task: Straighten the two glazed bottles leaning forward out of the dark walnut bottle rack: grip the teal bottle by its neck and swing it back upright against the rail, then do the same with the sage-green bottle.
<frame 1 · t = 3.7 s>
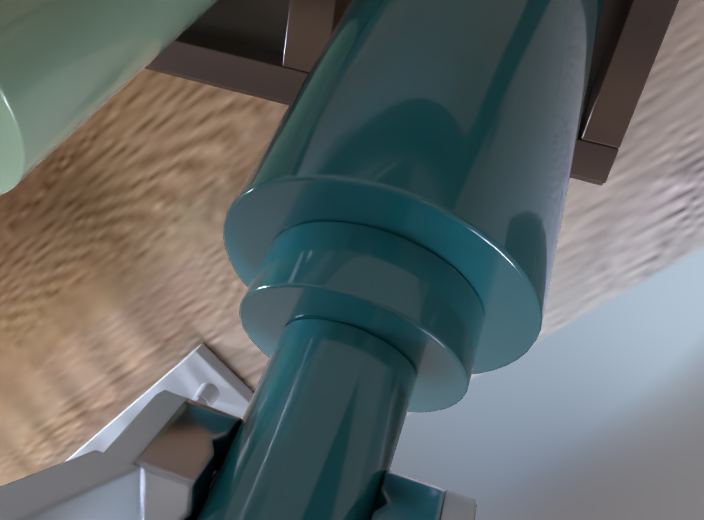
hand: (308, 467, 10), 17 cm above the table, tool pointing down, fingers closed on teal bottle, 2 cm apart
teal bottle: (414, 183, 13), point 11 cm above the table, hinge at 28.0°, touching gripper
test tube rack: (121, 457, 39), on the table
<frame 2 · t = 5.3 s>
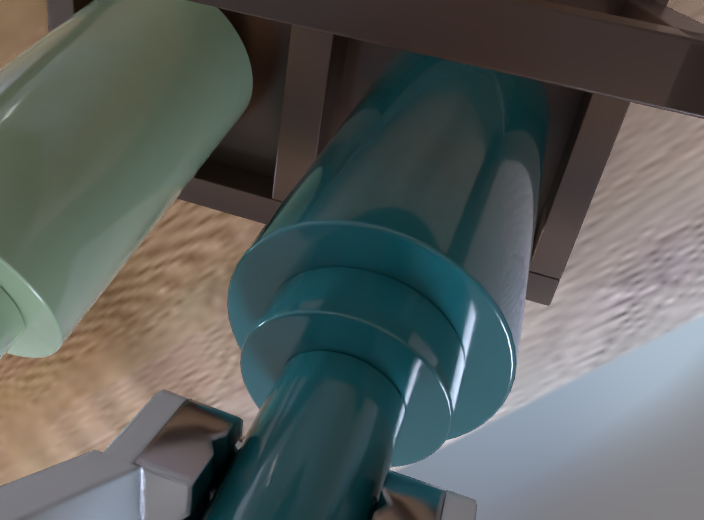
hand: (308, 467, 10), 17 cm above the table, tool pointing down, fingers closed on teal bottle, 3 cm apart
teal bottle: (397, 264, 15), point 11 cm above the table, hinge at 10.3°, touching gripper
sage bottle: (25, 208, 18), point 11 cm above the table, hinge at 20.0°
rack: (333, 72, 25), on the table
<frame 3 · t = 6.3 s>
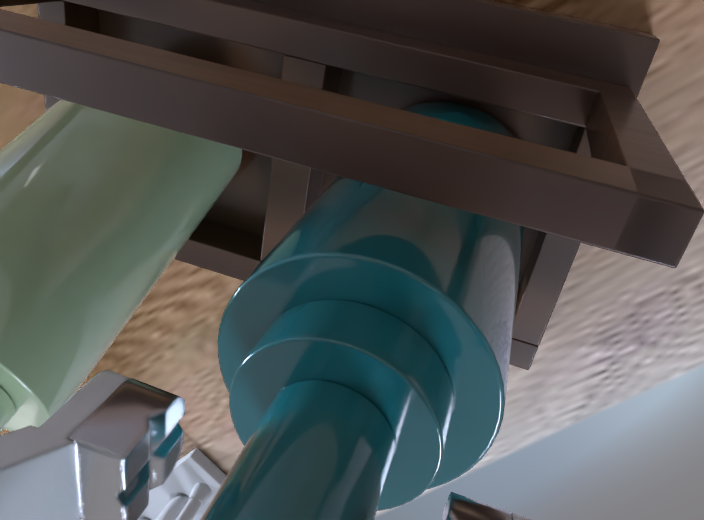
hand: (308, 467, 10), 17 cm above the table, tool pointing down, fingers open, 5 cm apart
teal bottle: (385, 310, 16), point 11 cm above the table, hinge at 2.1°
sage bottle: (18, 289, 18), point 11 cm above the table, hinge at 20.0°
rack: (321, 136, 26), on the table
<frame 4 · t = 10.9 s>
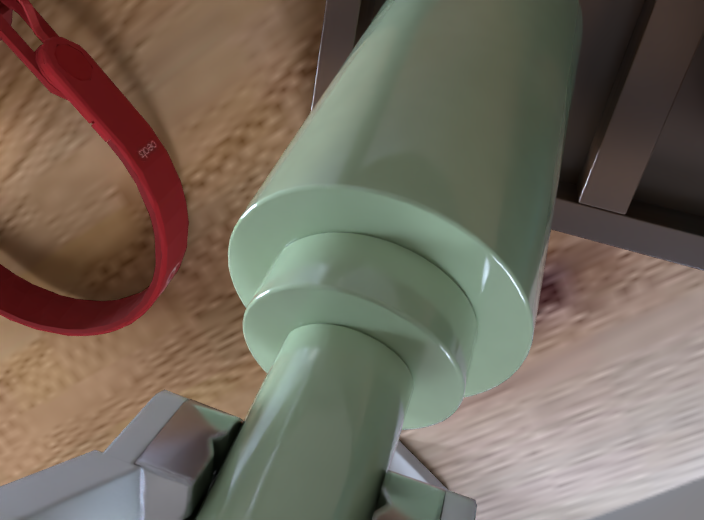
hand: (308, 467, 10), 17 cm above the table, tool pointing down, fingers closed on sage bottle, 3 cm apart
headphones: (36, 143, 31), on the table
sage bottle: (409, 213, 14), point 11 cm above the table, hinge at 20.0°, touching gripper
rack: (642, 56, 21), on the table
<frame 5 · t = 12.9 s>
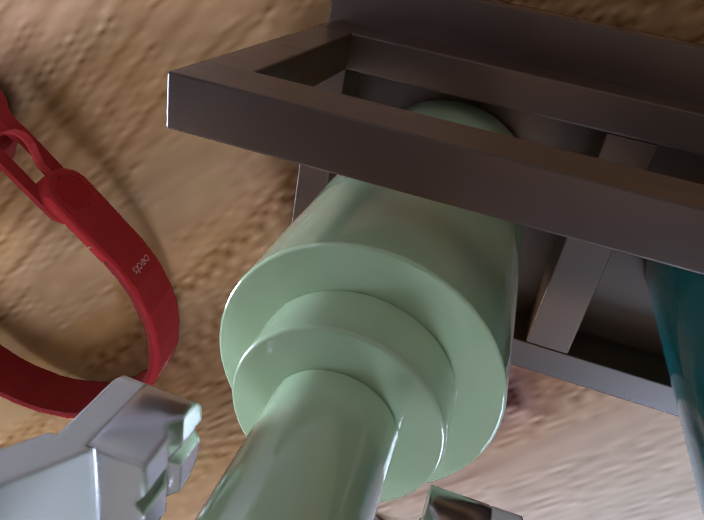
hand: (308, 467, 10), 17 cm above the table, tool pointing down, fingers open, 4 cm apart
headphones: (39, 242, 33), on the table
sage bottle: (387, 304, 16), point 11 cm above the table, hinge at 1.4°
rack: (585, 206, 24), on the table
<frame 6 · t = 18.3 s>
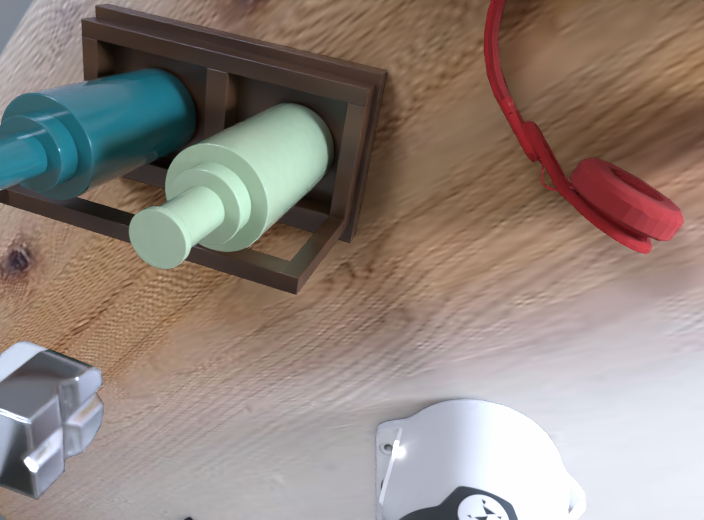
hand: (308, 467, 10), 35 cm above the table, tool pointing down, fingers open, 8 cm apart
teal bottle: (80, 137, 38), point 11 cm above the table, hinge at 2.1°
headphones: (628, 67, 38), on the table
sage bottle: (239, 183, 37), point 11 cm above the table, hinge at 1.4°
rack: (235, 122, 47), on the table
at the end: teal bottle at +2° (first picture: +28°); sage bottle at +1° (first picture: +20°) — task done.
